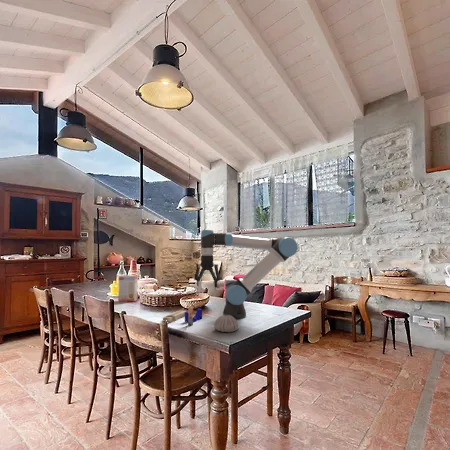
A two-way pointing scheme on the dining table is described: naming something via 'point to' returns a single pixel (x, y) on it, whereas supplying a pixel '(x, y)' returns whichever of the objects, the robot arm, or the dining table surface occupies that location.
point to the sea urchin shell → (226, 323)
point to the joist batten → (174, 316)
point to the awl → (190, 316)
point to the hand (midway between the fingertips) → (207, 292)
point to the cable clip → (196, 317)
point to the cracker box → (127, 288)
